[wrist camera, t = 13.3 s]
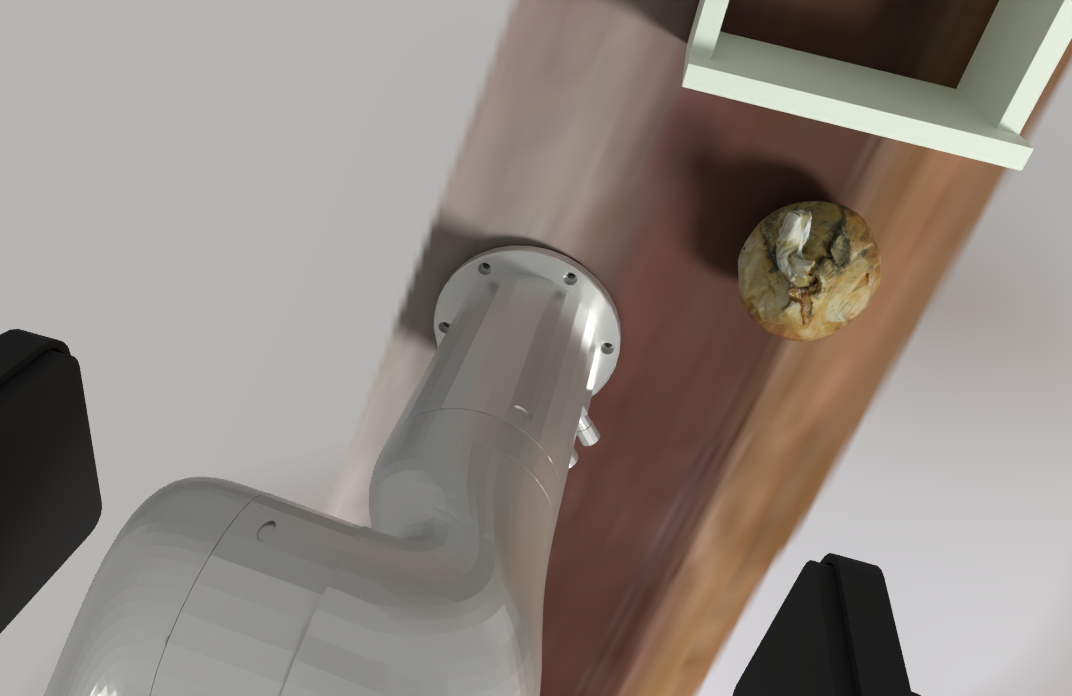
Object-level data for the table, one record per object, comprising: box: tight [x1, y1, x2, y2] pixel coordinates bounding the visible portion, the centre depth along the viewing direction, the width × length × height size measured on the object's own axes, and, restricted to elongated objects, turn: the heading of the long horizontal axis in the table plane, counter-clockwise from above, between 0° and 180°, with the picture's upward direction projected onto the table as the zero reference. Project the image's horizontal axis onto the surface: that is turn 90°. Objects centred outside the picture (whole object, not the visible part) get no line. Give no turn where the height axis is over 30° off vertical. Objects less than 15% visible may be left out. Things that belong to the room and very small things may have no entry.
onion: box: [738, 201, 881, 341], centre depth 44 cm, size 8×8×8 cm
